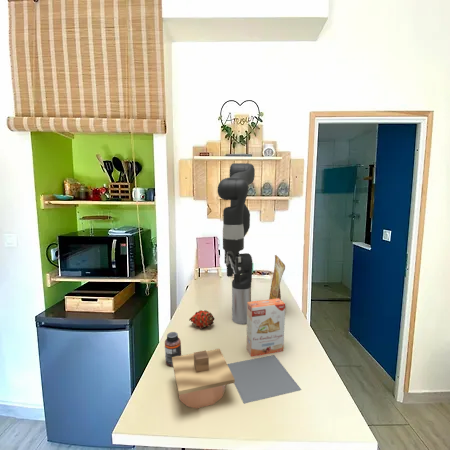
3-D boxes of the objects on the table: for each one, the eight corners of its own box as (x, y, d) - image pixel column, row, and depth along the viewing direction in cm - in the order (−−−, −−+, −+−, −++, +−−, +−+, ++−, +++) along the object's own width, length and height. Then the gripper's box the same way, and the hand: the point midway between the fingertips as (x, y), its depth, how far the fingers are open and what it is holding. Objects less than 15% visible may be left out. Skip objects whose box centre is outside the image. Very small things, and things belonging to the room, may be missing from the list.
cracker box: (251, 358, 112) (251, 307, 109) (246, 350, 118) (246, 301, 115) (284, 352, 116) (285, 303, 113) (277, 344, 122) (278, 297, 118)
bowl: (175, 380, 101) (175, 361, 100) (217, 371, 105) (217, 354, 104) (182, 413, 86) (181, 392, 85) (230, 402, 91) (230, 381, 90)
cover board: (171, 360, 100) (171, 345, 99) (219, 351, 105) (219, 337, 104) (178, 395, 84) (178, 377, 83) (234, 382, 89) (234, 365, 88)
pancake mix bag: (279, 302, 163) (281, 254, 158) (284, 319, 144) (285, 264, 140) (267, 302, 163) (268, 253, 159) (270, 318, 144) (271, 264, 140)
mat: (225, 365, 108) (225, 364, 108) (274, 356, 114) (274, 354, 114) (243, 405, 89) (243, 403, 89) (301, 391, 95) (301, 389, 95)
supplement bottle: (174, 355, 115) (173, 328, 113) (184, 361, 111) (183, 333, 109) (162, 362, 110) (161, 335, 108) (172, 369, 107) (171, 340, 105)
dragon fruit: (216, 331, 136) (191, 333, 137) (216, 314, 142) (192, 317, 143) (212, 322, 130) (186, 325, 131) (212, 305, 136) (187, 308, 137)
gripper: (217, 233, 109) (218, 275, 112) (229, 241, 96) (229, 288, 98) (236, 232, 111) (236, 273, 114) (250, 239, 98) (250, 285, 101)
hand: (233, 280), depth 106 cm, fingers open, 8 cm apart
